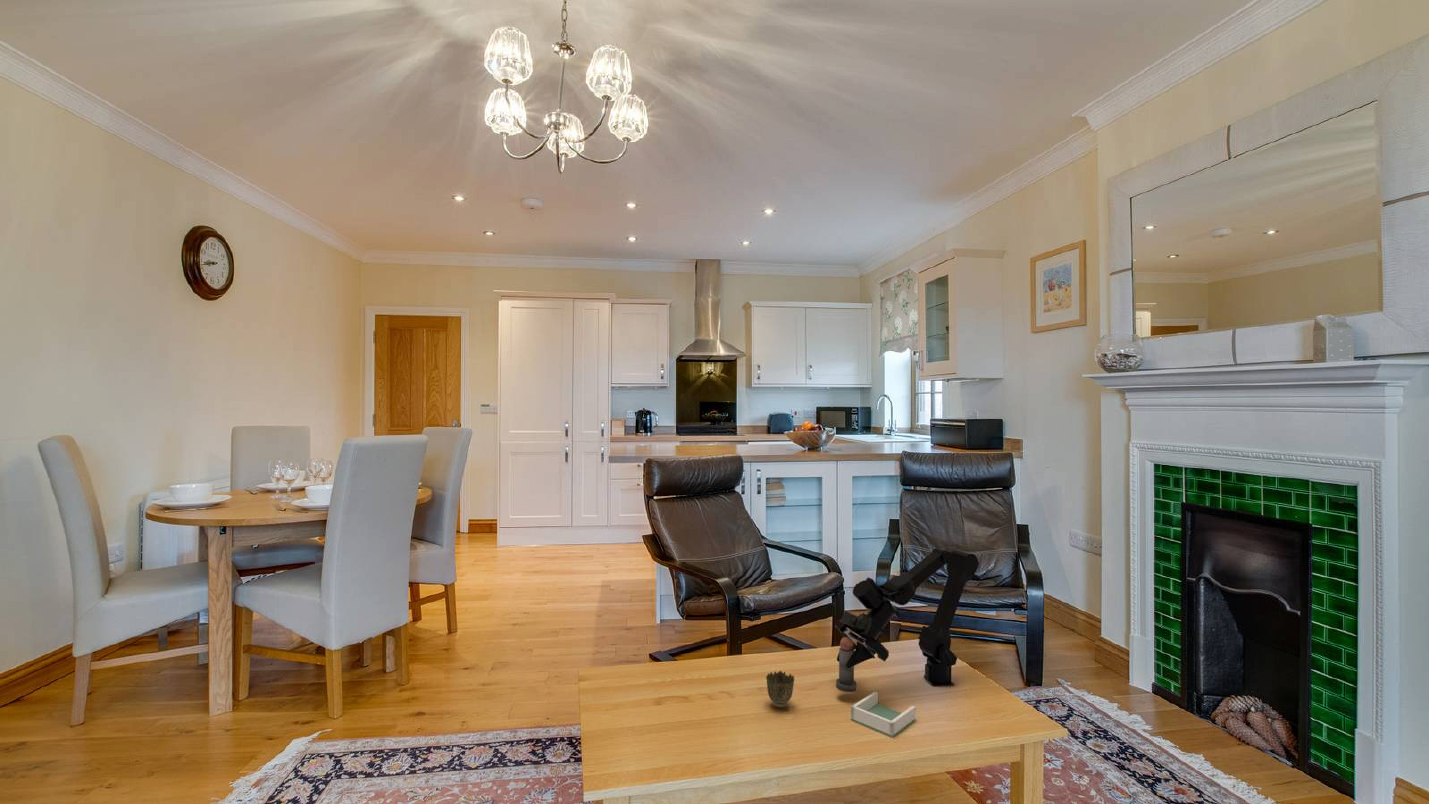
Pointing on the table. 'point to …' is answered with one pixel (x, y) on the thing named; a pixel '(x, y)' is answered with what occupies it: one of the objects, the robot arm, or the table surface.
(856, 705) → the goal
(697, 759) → the table surface
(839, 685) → the player figure
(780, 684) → the cup
